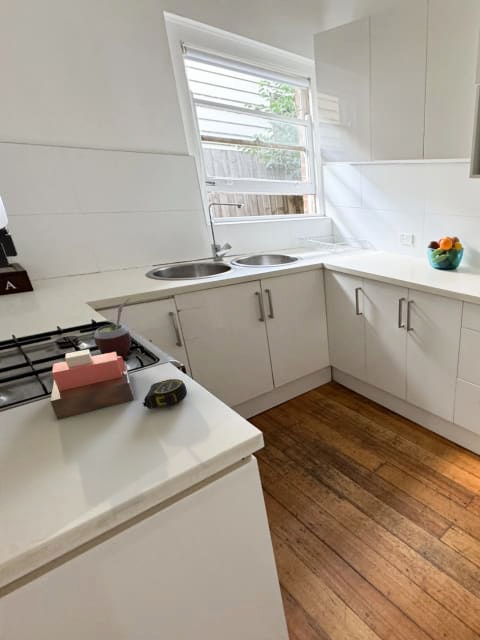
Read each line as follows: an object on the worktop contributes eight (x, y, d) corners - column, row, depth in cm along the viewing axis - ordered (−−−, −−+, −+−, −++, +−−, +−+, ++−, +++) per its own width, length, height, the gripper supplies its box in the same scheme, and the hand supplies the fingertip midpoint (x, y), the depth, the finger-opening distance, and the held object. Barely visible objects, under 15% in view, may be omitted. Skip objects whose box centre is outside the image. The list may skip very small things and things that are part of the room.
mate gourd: (94, 360, 94) (74, 302, 88) (126, 348, 101) (110, 294, 95) (115, 366, 92) (96, 307, 86) (146, 353, 98) (131, 297, 92)
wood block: (57, 419, 72) (49, 401, 70) (61, 392, 80) (54, 375, 79) (134, 399, 79) (128, 382, 77) (129, 376, 87) (125, 361, 86)
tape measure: (155, 395, 80) (150, 380, 79) (191, 391, 82) (188, 375, 81) (145, 413, 74) (140, 397, 73) (184, 408, 76) (180, 392, 75)
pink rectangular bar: (58, 391, 73) (47, 363, 71) (60, 381, 77) (49, 354, 74) (127, 375, 80) (119, 350, 77) (125, 367, 83) (117, 342, 81)
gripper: (-56, 156, 67) (-18, 254, 73) (-91, 156, 54) (-41, 274, 61) (4, 159, 71) (35, 251, 78) (-15, 160, 59) (24, 269, 65)
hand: (1, 261), depth 69 cm, fingers open, 9 cm apart
